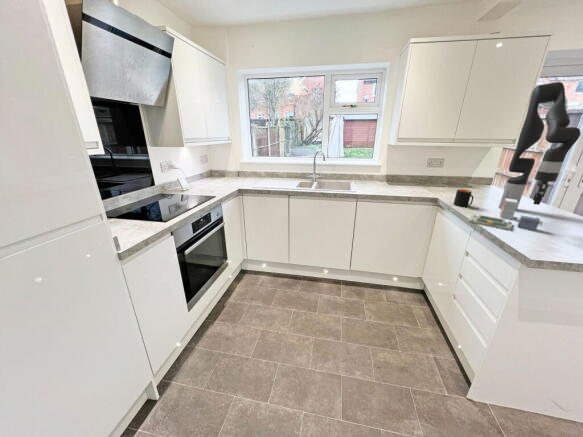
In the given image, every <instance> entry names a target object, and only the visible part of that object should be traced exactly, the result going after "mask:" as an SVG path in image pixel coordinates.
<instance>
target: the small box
mask: <svg viewBox="0 0 583 437" xmlns="http://www.w3.org/2000/svg"><path fill="white" fill-rule="evenodd" d="M517 205H518V201H517V200H515V199H508V198H505V200H504V203H503V206H502V209H501V208H500V212H499V218H500V217H501V218H500V219H506V218H507V219H508V220H513V218H514V215H515V212H516V211H517V210H516V208H517ZM518 206H519V205H518ZM517 209H518V208H517ZM515 210H516V211H515Z"/></svg>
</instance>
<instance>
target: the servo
mask: <svg viewBox="0 0 583 437" xmlns="http://www.w3.org/2000/svg"><path fill="white" fill-rule="evenodd" d="M516 221H518V223H517V225H518V226H517V225H516V226H517V227H518V228H519V229H522V228H523V230H527V229H528V230H529V231H532V230H533V231H534V232H536V231H537V229H538V226H539V225H541V226H542V225H543V221H541V218H540V217H539V218H538V217H537V216H527V215H520V216H519V217H516Z"/></svg>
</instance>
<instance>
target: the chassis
mask: <svg viewBox="0 0 583 437" xmlns="http://www.w3.org/2000/svg"><path fill="white" fill-rule="evenodd" d="M468 223H472V224H477V225H480V224H481V226H485V225H486V227H490V226H491V228H494V227H496V229H499V228H501V229H500V230H504V229H506V230H505V231H509V230H510V231H512V226H513V222H512V221H509V220H508V221H506V219H505V218H500V217H499V218H497V217H495V216H494V217H492V216H487V215H482V214H479V215H476V214H473V215H471V216H470V218H469V220H468Z"/></svg>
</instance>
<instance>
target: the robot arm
mask: <svg viewBox="0 0 583 437" xmlns="http://www.w3.org/2000/svg"><path fill="white" fill-rule="evenodd" d="M565 89H566V88H565V85H564V83H563V82H562V81H556V82H550V83H544V84H538V85H536V86H535V87H534V88H533V90H532V91H531V95H530V98H529V104H528V107H527V113H526V115H525V119H524V121H523V125H522V128H521V130H520V134H519V137H518V140H517V144H516V147H515V151H514V153H513V156H512V158H511V160H510V162H509V163H510V164H509V166H508V171H509V172H511V173H517V174H521V175H519V176H515V177H514V176H513V177H509V178H508V179H507V181H506V184H505V186H504V190H503V194H502V196H501V198H500V201H499V205H498V208H499V209H500V210H501V209H502V206H503V203H504V200H505V198H508V199H515V200H517V201H518V205H517V208H516V210H515V212H516V211H517V210H518V209H519V205H520V202H521V200H522V198H523V195H524V192H525V189H526V186H527V184H528V183H527V182H528V180H529V177H530V175H531V173H532V170H533V168H534V165H535V162H536V160H535V159H534V158H529V157H521V156H522V154H524V153H525V152H526V151H527V150H528V149H530V148H531V147H532V146H534V145H535V144H536V143H538V142H539V140H541V138H542V135H543V134H544V131H545V130H544V129H545V127H546V126H547V129H546V135H545V141H546V142H548V143H550V144H560V145H559V146H557V147H555V148H554V147H553V148H548V149H546V150H545V152H544V154H543V157H542V160H541V163H539V166H538V169H537V171H536V174H535V176H534V180H535V181H538V183H536V187H535V191H534V196H533V199H532V201H533V205H537V206H539V205H540V204H541V202H542V199H543V198H544V197H545V194H546V193H547V190H548V189H549V186H550V185H549V184H548V183H551V182H556V181H557V179H558V177H559V174H560V173H561V170H562V167H563V164H564V163H563V162H565V158H566V156H567V154H568V153H569V151H570V150H571V149H572V147H573V146H574V145H575V143H577V141H578V140H579V138H580V137H581V130H580V128H579V127H572V126H569V125H570V123H571V121H570V117H569V114H568V112H567V108H566V90H565ZM547 103H554V104H553V105H552V106H551V107H550V108H549V110H548V111H547V112H546V114H545V121H546V126H545V122H544V121H543V119H542V117H541V115H540V114H539V109H538V108H539V105H540V104H547Z"/></svg>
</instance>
